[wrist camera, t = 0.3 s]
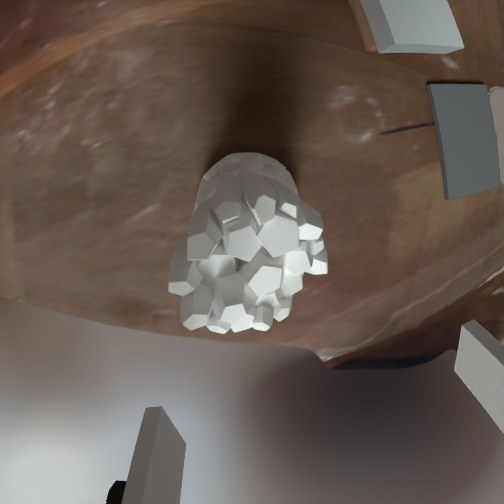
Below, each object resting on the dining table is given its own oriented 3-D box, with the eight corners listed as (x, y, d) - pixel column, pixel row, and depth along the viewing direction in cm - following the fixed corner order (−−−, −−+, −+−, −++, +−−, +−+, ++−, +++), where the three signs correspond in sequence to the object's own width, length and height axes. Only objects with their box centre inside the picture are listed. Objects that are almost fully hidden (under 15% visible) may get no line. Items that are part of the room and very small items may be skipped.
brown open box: (337, -24, 27) (349, -41, 22) (388, -21, 27) (403, -35, 22) (365, 51, 31) (382, 41, 26) (416, 51, 31) (435, 42, 26)
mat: (425, 85, 32) (429, 84, 31) (482, 85, 32) (486, 84, 31) (444, 198, 37) (448, 200, 36) (496, 185, 37) (500, 186, 36)
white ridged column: (292, 152, 35) (403, 163, 11) (291, 241, 38) (369, 380, 14) (197, 153, 34) (119, 165, 11) (201, 243, 38) (155, 391, 14)
